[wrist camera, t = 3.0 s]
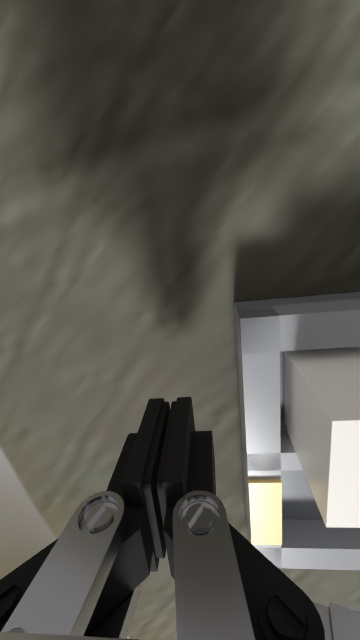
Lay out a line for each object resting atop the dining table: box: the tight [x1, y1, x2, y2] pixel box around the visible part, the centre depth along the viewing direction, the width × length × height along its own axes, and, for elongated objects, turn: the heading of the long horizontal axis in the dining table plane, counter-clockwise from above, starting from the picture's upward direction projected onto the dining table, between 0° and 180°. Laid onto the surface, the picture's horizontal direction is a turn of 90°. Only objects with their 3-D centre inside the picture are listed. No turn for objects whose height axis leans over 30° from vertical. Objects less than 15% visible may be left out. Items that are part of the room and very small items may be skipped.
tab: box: [284, 347, 360, 528], centre depth 10 cm, size 4×4×5 cm
